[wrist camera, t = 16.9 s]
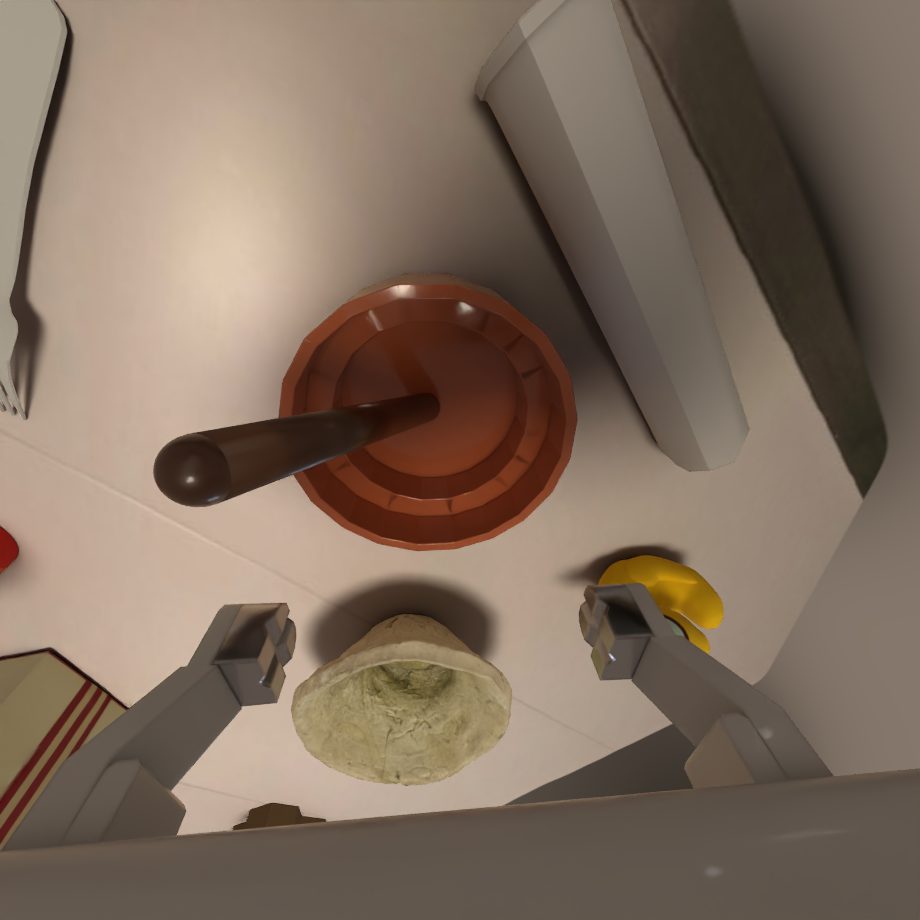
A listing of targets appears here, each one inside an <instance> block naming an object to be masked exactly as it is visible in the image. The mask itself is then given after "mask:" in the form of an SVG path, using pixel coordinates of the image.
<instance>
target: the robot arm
mask: <svg viewBox="0 0 920 920" xmlns="http://www.w3.org/2000/svg"><path fill="white" fill-rule="evenodd" d="M584 597H585V600H586V601H585V602H584V603H583V604H582V605H581V606H580V611H579V623H580V627H581V631H582V634H583V637H584V640H585V641H586V642H587V643H589V644H590V645H591V646H592V647H593V650H592V653H591V658H592V660H593V663H594V666H595V668H596V671H597V673H598V676H599V678H600V680H621V679H632V682H633V683H634V684H635V685H636V686H637V687H638V688H639V689H640V690H641V691H642V692H643V693H644V694H645V695H646V696H647V697H648V698H649V699H650V700H651V701H652V702H653V703H654V704H655V705H656V706H657V708H658V709H659V710H660V711H661V712H662V713H663V714H664V715H665V716H666V717H667V718H668V719H669V720H670V721H671V722H672V723H673V724H674V725H675V726H676V727H677V728H678V729H679V730H680V731H681V732H682V733H683V734H684V735H685V736H686V737H687V738H688V739H689V740H690V741H691V742H692V743H693V744H694V746H695V747H696V749H695V751H694V752H693V753H692V755H691V756H690V758H689V759H688V760H687V762H686V765H685V767H684V768H685V771H686V773H687V775H688V777H689V779H690V781H691V783H692V786H693V788H694V789H686V790H675V791H665V792H653V793H642V794H631V795H620V796H608V797H597V798H586V799H576V800H564V801H553V802H542V803H531V804H520V805H509V806H497V807H486V808H475V809H464V810H453V811H442V812H430V813H419V814H408V815H397V816H386V817H375V818H364V819H353V820H341V821H330V822H319V823H308V824H297V825H286V826H275V827H264V828H253V829H242V830H231V831H219V832H208V833H197V834H186V835H177V833H178V830H179V828H180V825H181V823H182V821H183V818H184V816H185V813H186V809H185V806H184V804H183V803H182V802H181V801H180V800H179V799H178V798H177V797H176V796H175V795H174V794H173V793H172V792H171V790H172V789H173V788H174V787H175V786H176V784H177V783H178V782H179V781H180V780H181V779H182V777H183V776H184V775H185V774H186V773H187V772H188V771H189V769H190V768H191V767H192V766H193V765H194V764H195V762H196V761H197V760H198V759H199V758H200V757H201V755H202V754H203V753H204V752H205V751H206V750H207V748H208V747H209V746H210V745H211V744H212V743H213V741H214V740H215V739H216V738H217V737H218V736H219V734H220V733H221V732H222V731H223V730H224V729H225V727H226V726H227V725H228V724H229V723H230V722H231V720H232V719H233V718H234V717H235V716H236V715H237V714H238V712H239V711H240V710H241V709H242V708H241V706H251V705H261V704H271V703H277V701H278V698H279V695H280V692H281V689H282V686H283V683H284V680H285V677H286V675H285V672H284V670H283V667H284V666H285V665H286V664H287V663H288V662H289V661H290V660H291V659H292V655H293V652H294V649H295V643H296V627H295V624H294V622H293V621H292V620H290V619H289V618H287V617H288V614H289V612H290V610H289V608H288V605H287V603H259V604H231V605H224V606H223V607H222V608H221V609H220V610H219V611H218V612H217V614H216V616H215V618H214V620H213V621H212V623H211V625H210V627H209V628H208V630H207V632H206V634H205V635H204V637H203V639H202V641H201V642H200V644H199V646H198V648H197V649H196V651H195V653H194V655H193V657H192V658H191V660H190V662H189V664H188V665H187V666H186V667H180V668H179V669H177V670H176V671H175V672H174V673H173V674H171V675H170V676H169V677H168V678H166V679H165V680H164V681H163V682H161V683H160V684H159V685H158V686H156V687H155V688H154V689H153V690H151V691H150V692H149V693H148V694H147V695H145V696H144V697H143V698H142V699H140V700H139V701H138V702H137V703H135V704H134V705H133V706H132V707H130V708H129V709H128V710H127V711H126V712H124V713H123V714H122V715H121V716H119V717H118V718H117V719H116V720H114V721H113V722H112V723H111V724H109V725H108V726H107V727H106V728H104V729H103V730H102V731H101V732H100V733H98V734H97V735H96V736H95V737H93V738H92V739H91V740H90V741H88V742H87V743H86V744H85V745H83V746H82V747H81V748H80V749H78V750H77V751H76V752H75V753H74V754H72V755H71V756H70V757H69V758H67V759H66V760H65V761H64V762H63V763H62V764H61V765H60V767H59V768H58V770H57V771H56V773H55V774H54V775H53V777H52V778H51V780H50V781H49V783H48V784H47V785H46V787H45V788H44V790H43V791H42V793H41V794H40V795H39V797H38V798H37V800H36V801H35V803H34V804H33V805H32V807H31V808H30V810H29V811H28V813H27V814H26V815H25V817H24V818H23V820H22V821H21V823H20V824H19V825H18V827H17V828H16V830H15V831H14V833H13V834H12V835H11V837H10V838H9V840H8V841H7V843H6V844H5V845H4V847H3V848H2V850H1V851H0V920H920V769H909V770H897V771H887V772H876V773H865V774H853V775H842V776H833V775H832V773H831V772H830V771H829V769H828V768H827V766H826V765H825V764H824V762H823V761H822V760H821V759H820V757H819V756H818V754H817V753H816V752H815V750H814V749H813V748H812V746H811V745H810V744H809V742H808V741H807V740H806V738H805V737H804V736H803V734H802V733H801V732H800V730H799V729H798V728H797V727H796V725H795V724H794V722H793V721H792V720H791V718H790V717H789V716H788V714H787V713H786V712H785V710H784V709H783V708H782V707H781V706H779V705H778V704H777V703H775V702H774V701H773V700H771V699H770V698H768V697H767V696H766V695H764V694H762V693H761V692H760V691H758V690H757V689H756V688H754V687H753V686H752V685H750V684H749V683H747V682H746V681H745V680H743V679H742V678H740V677H739V676H738V675H736V674H735V673H733V672H732V671H731V670H729V669H728V668H726V667H725V666H724V665H722V664H721V663H719V662H718V661H717V660H715V659H714V658H712V657H711V656H710V655H708V654H707V653H705V652H704V651H703V650H701V649H700V648H698V647H697V646H696V645H694V644H693V643H691V642H690V641H689V640H687V639H686V638H684V637H683V636H676V635H675V633H674V631H673V630H672V628H671V627H670V625H669V623H668V622H667V620H666V619H665V617H664V615H663V614H662V612H661V611H660V609H659V607H658V606H657V604H656V603H655V601H654V599H653V598H652V596H651V595H650V593H649V591H648V590H647V588H646V587H645V586H644V585H643V584H642V583H628V584H606V585H592V586H587V587H586V588H585V591H584Z"/></svg>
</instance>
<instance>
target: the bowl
mask: <svg viewBox="0 0 920 920" xmlns="http://www.w3.org/2000/svg"><path fill="white" fill-rule="evenodd" d="M511 700H512V689H511V687H510V684H509V682H508V681H507V679H506V678H505V676H504V675H503V673H502V672H500V671H499V670H498V669H497V668H496V667H495V666H494V665H493V664H491V663H490V662H488V661H486V660H485V659H483V658H482V657H481V656H479V655H477V654H476V653H474V652H472V651H471V650H470V649H469V648H468V647H467V646H466V645H465V644H464V643H463V642H462V641H461V640H459V639H458V638H457V637H456V636H455V635H453V634H452V632H451V631H450V630H448V629H447V627H445V626H443V625H442V624H440V623H439V622H437V621H436V620H435V619H432V618H430V617H427V616H421V615H414V614H401V615H397V616H394V617H392V618H389V619H387V620H385V621H383V622H381V623H379V624H377V625H376V626H374V627H373V628H372V629H371V630H370V631H369V632H368V633H367V634H366V635H365V636H364V637H362V638H361V639H360V640H358V641H357V642H356V643H355V644H353V645H352V646H351V647H349V648H348V649H347V650H346V651H345V652H344V653H343V654H342V655H341V656H340V657H339V658H337V659H334V660H332V661H330V662H329V663H327V664H325V665H324V666H323V667H321V668H319V669H318V670H316V671H315V672H314V673H313V674H312V675H311V676H310V678H309V679H307V680H305V681H304V682H303V683H301V684H300V685H299V686H298V687H297V689H296V690H295V693H294V696H293V703H292V708H291V712H292V718H293V722H294V725H295V729H296V732H297V734H298V736H299V738H300V739H301V741H302V742H303V744H304V746H305V748H306V750H307V751H308V752H310V754H311V755H313V756H314V757H315V758H317V759H318V760H320V761H321V762H323V763H324V764H326V765H327V766H328V767H330V768H333V769H335V770H337V771H339V772H342V773H344V774H346V775H350V776H352V777H355V778H357V779H362V780H367V781H373V782H377V783H384V784H398V783H401V784H402V785H405V786H408V785H425V784H428V783H434V782H438V781H441V780H444V779H445V778H446V777H450V776H452V775H454V774H455V773H457V772H458V771H460V770H461V769H462V768H463V767H464V766H465V765H468V764H469V763H471V762H472V761H474V760H476V759H477V758H478V757H480V756H482V755H483V754H485V753H487V752H488V751H490V750H491V749H492V748H493V747H494V746H495V745H496V744H497V743H498V742H499V741H500V740H501V738H502V737H503V735H504V733H505V731H506V728H507V726H508V723H509V718H510V715H511V713H510V708H511Z"/></svg>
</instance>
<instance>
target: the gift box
mask: <svg viewBox="0 0 920 920" xmlns="http://www.w3.org/2000/svg"><path fill="white" fill-rule="evenodd" d="M126 711H127V709H126V708H124V707H123V706H122V705H120V704H119V703H118V702H116V701H115V700H114V699H112V698H111V697H110V696H109V695H108V694H106V693H105V692H104V691H102V690H101V689H100V688H98V687H97V686H96V685H94V684H93V683H91V682H90V681H88V680H87V679H85V678H84V677H83V676H82V675H80V674H79V673H78V672H76V671H75V670H74V669H73V668H71V667H70V666H69V665H67V664H66V663H65V662H63V661H62V660H61V659H59V658H58V657H56V656H55V655H54V654H52V653H51V652H49V651H46V652H40V653H35V654H29V655H24V656H20V657H14V658H8V659H2V660H0V851H1V850H2V848H3V847H4V845H5V844H6V843H7V841H8V840H9V838H10V837H11V835H12V834H13V833H14V831H15V830H16V828H17V827H18V825H19V824H20V823H21V821H22V820H23V818H24V817H25V815H26V814H27V813H28V811H29V810H30V808H31V807H32V805H33V804H34V803H35V801H36V800H37V798H38V797H39V795H40V794H41V793H42V791H43V790H44V788H45V787H46V785H47V784H48V783H49V781H50V780H51V778H52V777H53V775H54V774H55V773H56V771H57V770H58V768H59V767H60V765H61V764H62V763H63V762H64V761H65V760H66V759H67V758H69V757H70V756H71V755H72V754H74V753H75V752H76V751H77V750H78V749H80V748H81V747H82V746H83V745H85V744H86V743H87V742H88V741H90V740H91V739H92V738H93V737H95V736H96V735H97V734H98V733H100V732H101V731H102V730H103V729H104V728H106V727H107V726H108V725H109V724H111V723H112V722H113V721H114V720H116V719H117V718H118V717H119V716H121V715H122V714H123V713H124V712H126Z"/></svg>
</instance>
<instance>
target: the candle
mask: <svg viewBox="0 0 920 920" xmlns="http://www.w3.org/2000/svg"><path fill="white" fill-rule="evenodd" d="M319 822H326V820H324V819H317V818H309V817H302V816H301V813H300V810H299V807H296V806H288V805H281V804H274V803H271V804H268V805H265V806H261V807H258V808H255V809H252V810H250V812H249V816H248V819H247V822H246V823H243V824H240V825H237V826H234V828H233V830H242V829H253V828H264V827H275V826H286V825H297V824H308V823H319Z"/></svg>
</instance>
